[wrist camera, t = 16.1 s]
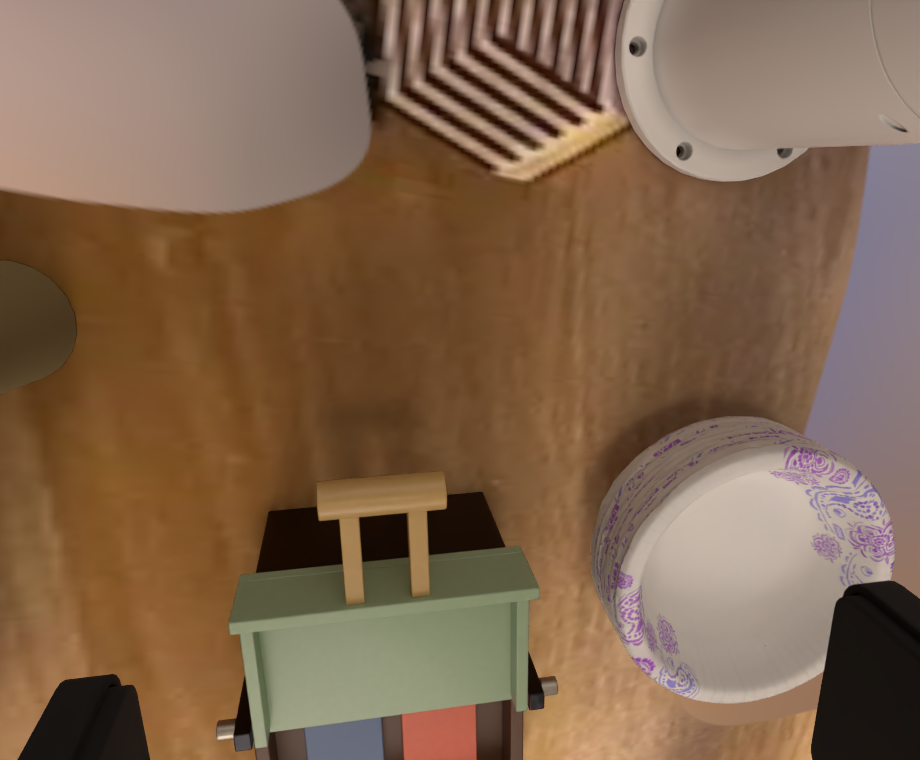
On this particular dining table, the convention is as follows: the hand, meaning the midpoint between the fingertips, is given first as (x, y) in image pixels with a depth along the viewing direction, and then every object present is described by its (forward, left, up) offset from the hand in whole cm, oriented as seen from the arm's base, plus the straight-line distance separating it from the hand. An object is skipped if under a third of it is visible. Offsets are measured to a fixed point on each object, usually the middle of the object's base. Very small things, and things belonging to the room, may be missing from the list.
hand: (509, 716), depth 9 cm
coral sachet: (-2, +27, -27) cm, 38 cm away
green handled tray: (+1, +12, -22) cm, 25 cm away
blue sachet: (+4, +27, -27) cm, 38 cm away
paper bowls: (-18, +14, -28) cm, 36 cm away
